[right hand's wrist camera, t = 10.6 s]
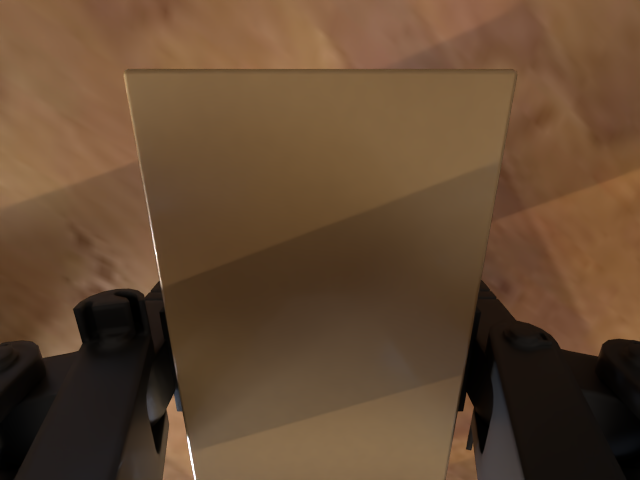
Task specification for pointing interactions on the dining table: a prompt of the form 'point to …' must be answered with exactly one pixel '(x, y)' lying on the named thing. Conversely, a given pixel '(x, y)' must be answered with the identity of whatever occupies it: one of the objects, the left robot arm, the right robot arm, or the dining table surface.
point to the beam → (320, 259)
